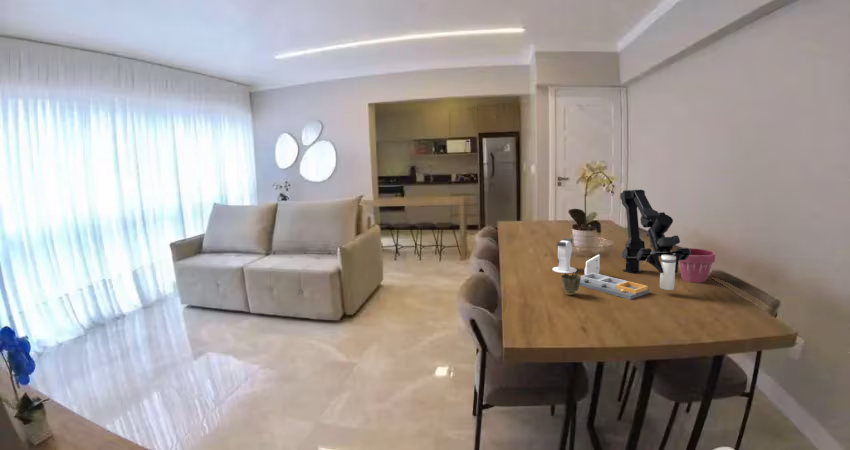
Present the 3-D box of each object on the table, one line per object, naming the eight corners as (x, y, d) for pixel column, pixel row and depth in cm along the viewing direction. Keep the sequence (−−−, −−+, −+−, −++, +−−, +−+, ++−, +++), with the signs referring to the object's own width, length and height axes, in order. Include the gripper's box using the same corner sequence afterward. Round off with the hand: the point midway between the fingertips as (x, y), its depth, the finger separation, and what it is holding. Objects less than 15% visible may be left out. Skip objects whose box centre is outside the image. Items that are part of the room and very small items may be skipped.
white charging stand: (557, 265, 213) (557, 237, 210) (579, 268, 206) (580, 239, 204) (549, 271, 203) (549, 241, 201) (572, 274, 196) (573, 243, 194)
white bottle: (663, 285, 167) (665, 253, 165) (676, 288, 162) (678, 256, 160) (656, 287, 164) (658, 255, 162) (669, 290, 160) (671, 258, 158)
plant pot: (677, 283, 177) (679, 254, 175) (671, 274, 190) (673, 247, 188) (717, 285, 171) (719, 256, 169) (708, 276, 184) (710, 248, 182)
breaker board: (593, 278, 188) (593, 272, 188) (649, 292, 166) (649, 285, 166) (574, 284, 181) (574, 277, 181) (630, 299, 159) (630, 292, 159)
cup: (580, 292, 170) (580, 273, 169) (580, 298, 163) (581, 278, 162) (561, 291, 173) (561, 272, 171) (560, 296, 166) (561, 277, 165)
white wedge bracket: (609, 270, 191) (599, 255, 190) (589, 281, 192) (580, 266, 192) (606, 268, 194) (597, 253, 194) (587, 279, 196) (578, 264, 195)
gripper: (640, 229, 164) (651, 262, 155) (690, 227, 162) (703, 262, 153) (632, 244, 173) (641, 276, 164) (678, 243, 171) (691, 276, 162)
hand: (669, 272), depth 161 cm, fingers closed on white bottle, 5 cm apart
